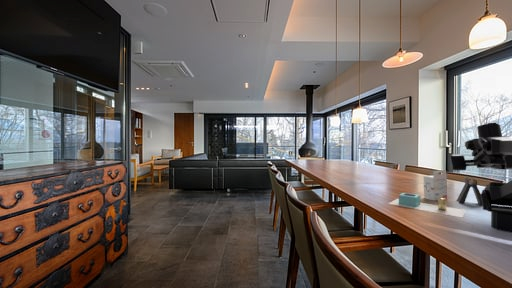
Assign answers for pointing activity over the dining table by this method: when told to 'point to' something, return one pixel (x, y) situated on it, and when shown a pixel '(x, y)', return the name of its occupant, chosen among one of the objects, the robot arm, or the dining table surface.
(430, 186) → the ink cartridge box
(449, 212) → the board
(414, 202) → the collar
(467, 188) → the phone stand
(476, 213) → the dining table surface
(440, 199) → the cylinder
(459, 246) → the dining table surface
